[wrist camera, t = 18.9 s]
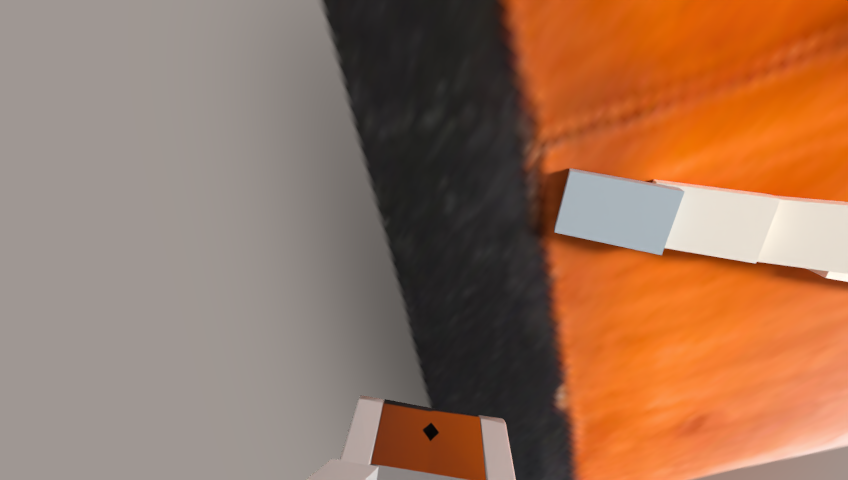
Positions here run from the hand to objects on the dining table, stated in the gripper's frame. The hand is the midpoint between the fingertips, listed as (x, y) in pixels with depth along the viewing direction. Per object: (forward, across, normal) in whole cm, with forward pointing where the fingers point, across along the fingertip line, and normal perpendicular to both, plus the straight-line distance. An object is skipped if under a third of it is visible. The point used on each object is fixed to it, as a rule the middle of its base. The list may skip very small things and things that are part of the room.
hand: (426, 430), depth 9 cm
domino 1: (+26, -10, 0) cm, 28 cm away
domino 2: (+26, -16, 0) cm, 31 cm away
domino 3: (+26, -23, 0) cm, 35 cm away
